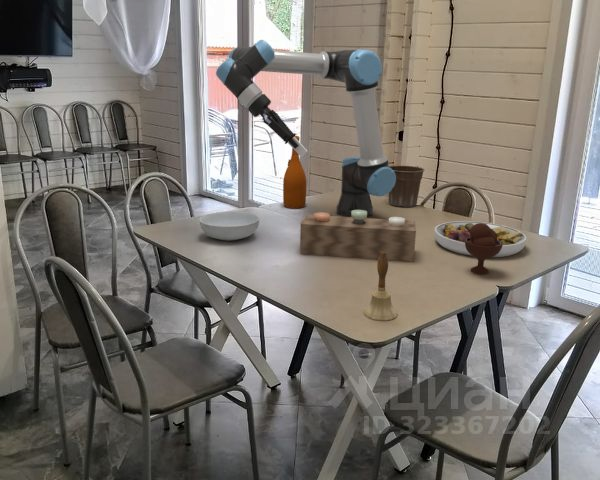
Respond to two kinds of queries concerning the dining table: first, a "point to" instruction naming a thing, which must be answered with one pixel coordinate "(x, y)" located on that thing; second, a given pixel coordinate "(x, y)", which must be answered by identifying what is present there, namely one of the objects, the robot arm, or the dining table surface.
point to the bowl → (456, 232)
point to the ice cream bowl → (482, 246)
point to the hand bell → (381, 296)
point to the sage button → (359, 216)
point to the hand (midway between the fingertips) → (304, 154)
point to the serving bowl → (229, 225)
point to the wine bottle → (294, 182)
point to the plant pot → (405, 186)
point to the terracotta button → (321, 217)
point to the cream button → (396, 221)
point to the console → (357, 238)
